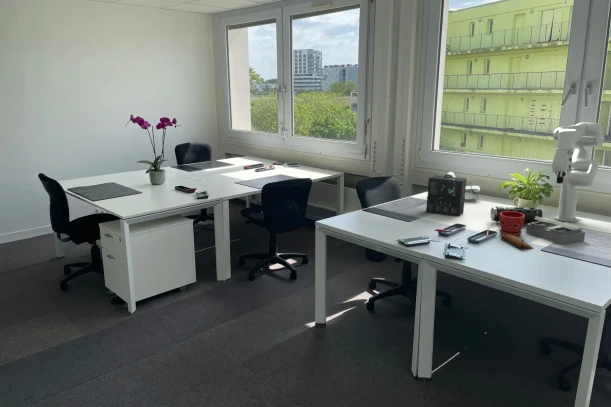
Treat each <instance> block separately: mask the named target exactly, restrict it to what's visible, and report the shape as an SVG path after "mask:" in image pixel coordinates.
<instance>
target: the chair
mask: <svg viewBox="0 0 611 407" xmlns="http://www.w3.org/2000/svg"><path fill="white" fill-rule="evenodd" d="M446 175H452V177H456V175H455V173H454V172H453V171H448V172H447V173H446ZM456 178H457V177H456ZM465 179H466V184H467V183H468V184H470V185H466V190H469V192H470V193H471V195H472V196H473V198H477V199H478V198H479V193H480V190H481V187H480V186H479V185H474V182H475V181H474V180H473V179H472V178H465ZM468 180H469V181H468ZM470 181H472V182H470ZM477 199H474V201H472V200H471V202H470V203H476V202H477Z"/></svg>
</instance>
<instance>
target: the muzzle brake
mask: <svg viewBox="0 0 611 407" xmlns="http://www.w3.org/2000/svg"><path fill="white" fill-rule="evenodd" d="M504 211H514V212H519V213H522V214H524V215H525V220H524V224H530V223H532V222H539V220H536V219H535V216H536V217H540V218H543V210H542V208H541V207H512V206H510V207H508V206H506V207H504V206H495V207H491V209H490V219H491V221H493V222H495V223H499V216H500V213H501V212H504ZM507 217H509V216H507ZM514 217H515V216H514Z"/></svg>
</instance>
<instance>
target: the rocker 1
mask: <svg viewBox="0 0 611 407" xmlns="http://www.w3.org/2000/svg"><path fill="white" fill-rule="evenodd" d="M535 219H536V220H539V221H543V222H547V223H552V224H555V222H557V220H553V219H550V218H545V217H544V218H543V217H542V218H540V217H538V216H537V217H536V216H535Z"/></svg>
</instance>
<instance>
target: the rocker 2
mask: <svg viewBox="0 0 611 407" xmlns="http://www.w3.org/2000/svg"><path fill="white" fill-rule="evenodd" d="M555 225H558V226H561V227H564V228H567V229H571V230H577V227H576V226H573V225H572V226H571V225H568V224H565V223H561V222H560V221H559V222H558V221H556V222H555Z"/></svg>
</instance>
